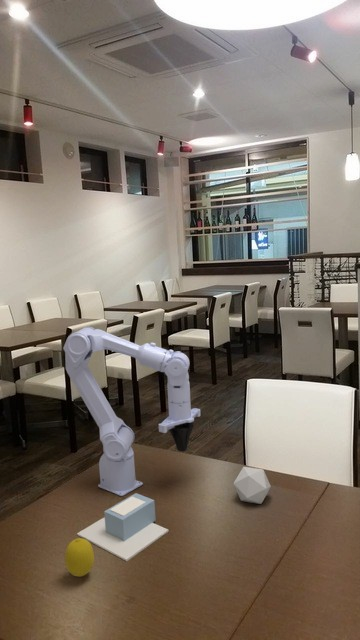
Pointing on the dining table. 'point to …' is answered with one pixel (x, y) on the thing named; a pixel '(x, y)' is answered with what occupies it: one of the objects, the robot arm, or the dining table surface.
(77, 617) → the dining table surface
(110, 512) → the block
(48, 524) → the dining table surface
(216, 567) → the dining table surface
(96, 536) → the mat
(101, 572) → the dining table surface
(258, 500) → the die
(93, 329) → the robot arm
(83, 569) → the lemon
